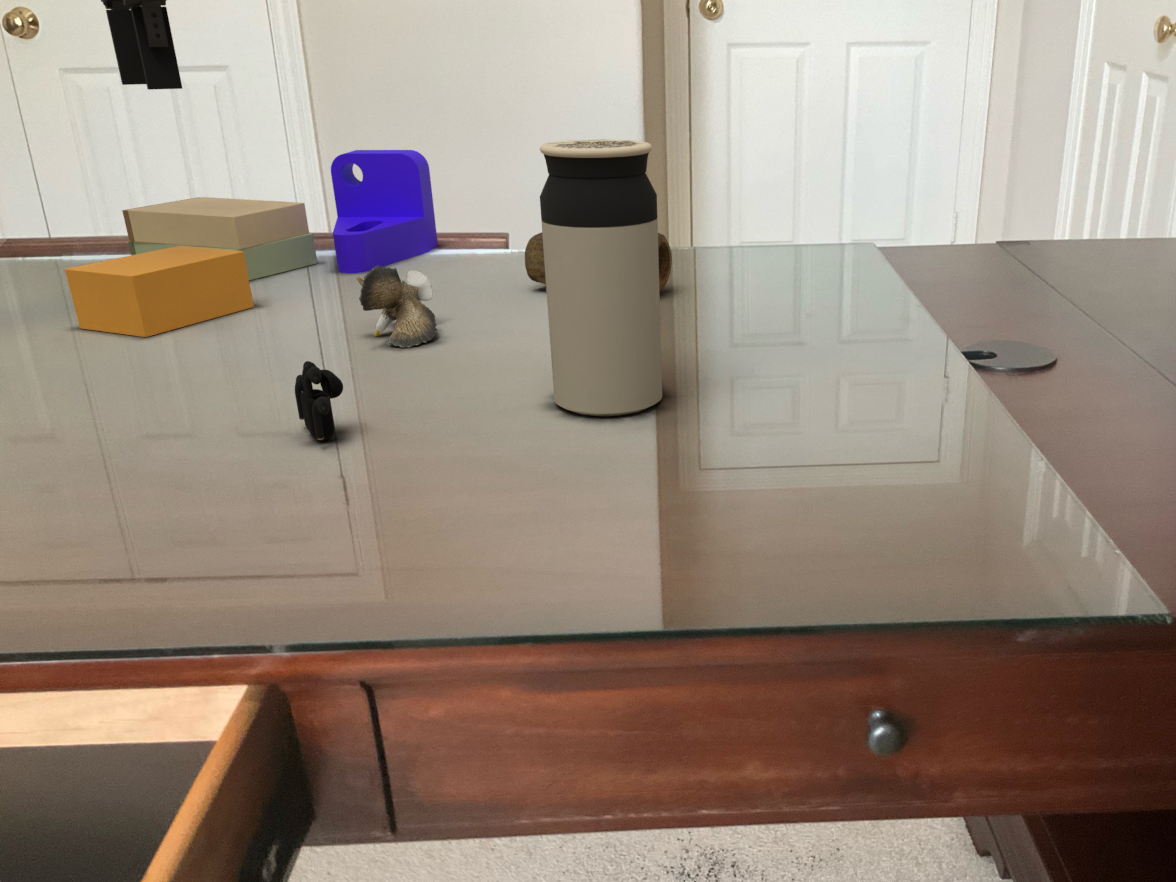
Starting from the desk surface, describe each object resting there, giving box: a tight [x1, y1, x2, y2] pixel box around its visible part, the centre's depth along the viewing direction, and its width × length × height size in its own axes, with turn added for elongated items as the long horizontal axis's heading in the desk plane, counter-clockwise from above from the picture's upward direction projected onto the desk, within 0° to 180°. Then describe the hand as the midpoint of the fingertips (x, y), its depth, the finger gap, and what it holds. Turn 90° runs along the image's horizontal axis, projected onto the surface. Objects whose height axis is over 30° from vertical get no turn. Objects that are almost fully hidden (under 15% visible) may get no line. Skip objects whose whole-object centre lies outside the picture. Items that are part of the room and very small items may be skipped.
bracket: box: [330, 149, 439, 274], centre depth 130 cm, size 18×11×12 cm, turn 179°
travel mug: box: [539, 138, 663, 417], centre depth 76 cm, size 8×8×18 cm
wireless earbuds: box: [294, 360, 344, 442], centre depth 72 cm, size 7×2×5 cm, turn 32°
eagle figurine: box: [355, 266, 438, 349], centre depth 97 cm, size 8×7×9 cm
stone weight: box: [524, 231, 673, 292], centre depth 113 cm, size 15×7×7 cm, turn 76°
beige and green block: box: [122, 196, 318, 281], centre depth 125 cm, size 16×12×7 cm
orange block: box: [64, 246, 255, 338], centre depth 103 cm, size 13×8×6 cm, turn 157°
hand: (151, 87), depth 100 cm, fingers open, 13 cm apart
